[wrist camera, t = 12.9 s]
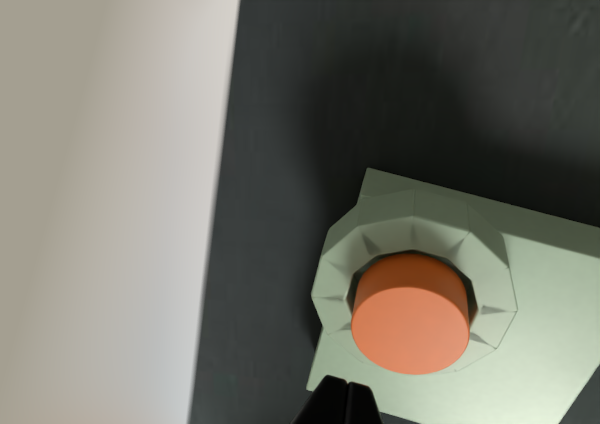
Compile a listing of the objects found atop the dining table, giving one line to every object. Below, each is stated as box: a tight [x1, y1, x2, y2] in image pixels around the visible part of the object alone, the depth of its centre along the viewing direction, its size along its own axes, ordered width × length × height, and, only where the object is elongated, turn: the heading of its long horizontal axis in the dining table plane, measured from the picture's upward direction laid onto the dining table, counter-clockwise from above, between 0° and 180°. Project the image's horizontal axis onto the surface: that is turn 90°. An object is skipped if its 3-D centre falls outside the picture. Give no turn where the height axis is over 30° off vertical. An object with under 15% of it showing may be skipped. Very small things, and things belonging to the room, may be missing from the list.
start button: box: [351, 254, 470, 375], centre depth 18 cm, size 4×4×2 cm
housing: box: [306, 168, 600, 424], centre depth 21 cm, size 11×11×4 cm
